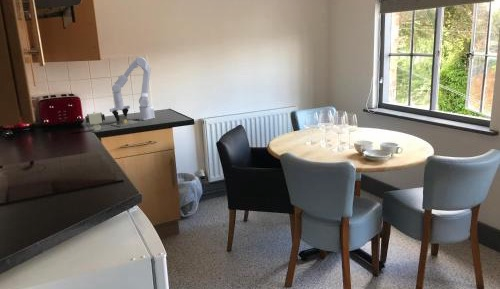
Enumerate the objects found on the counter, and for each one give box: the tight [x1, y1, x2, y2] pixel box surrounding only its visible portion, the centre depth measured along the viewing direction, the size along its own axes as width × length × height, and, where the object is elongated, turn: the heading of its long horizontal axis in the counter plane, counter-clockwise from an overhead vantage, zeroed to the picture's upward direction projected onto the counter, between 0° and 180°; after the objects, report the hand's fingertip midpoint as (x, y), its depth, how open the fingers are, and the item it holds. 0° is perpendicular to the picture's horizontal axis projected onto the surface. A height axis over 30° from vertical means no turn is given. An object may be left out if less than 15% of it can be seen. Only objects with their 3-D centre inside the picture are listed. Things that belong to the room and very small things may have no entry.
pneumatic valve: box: [84, 111, 106, 132], centre depth 267 cm, size 6×12×12 cm, turn 115°
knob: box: [115, 114, 128, 123], centre depth 290 cm, size 5×5×5 cm
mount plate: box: [111, 118, 140, 128], centre depth 281 cm, size 14×12×4 cm
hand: (121, 120), depth 290 cm, fingers closed on knob, 5 cm apart
